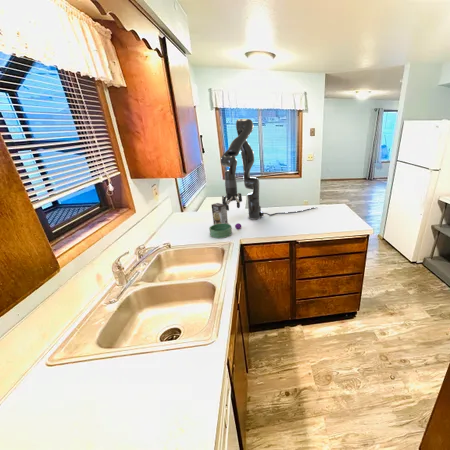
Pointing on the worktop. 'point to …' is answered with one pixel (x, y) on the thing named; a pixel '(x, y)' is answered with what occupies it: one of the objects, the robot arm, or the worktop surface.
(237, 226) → the ball
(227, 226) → the bowl
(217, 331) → the worktop surface
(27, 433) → the worktop surface
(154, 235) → the worktop surface
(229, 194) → the robot arm
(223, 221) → the coffee box
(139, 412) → the worktop surface
